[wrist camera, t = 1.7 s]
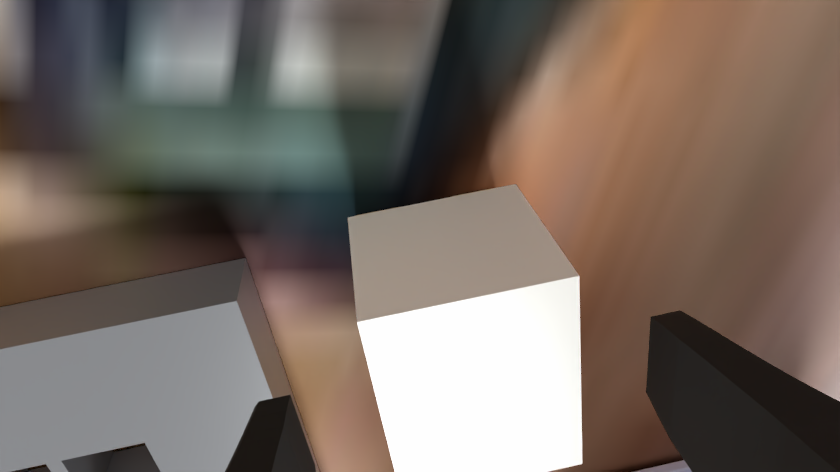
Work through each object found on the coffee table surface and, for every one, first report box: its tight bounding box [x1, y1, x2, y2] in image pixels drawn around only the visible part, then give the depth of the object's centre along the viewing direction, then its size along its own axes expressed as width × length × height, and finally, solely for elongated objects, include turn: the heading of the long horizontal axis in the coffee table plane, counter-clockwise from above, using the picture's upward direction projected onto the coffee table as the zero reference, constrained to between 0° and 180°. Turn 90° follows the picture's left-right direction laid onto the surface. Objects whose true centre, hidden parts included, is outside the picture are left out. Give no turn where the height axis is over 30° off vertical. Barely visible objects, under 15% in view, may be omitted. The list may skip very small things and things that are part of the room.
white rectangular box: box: [348, 184, 582, 472], centre depth 14 cm, size 4×5×6 cm
